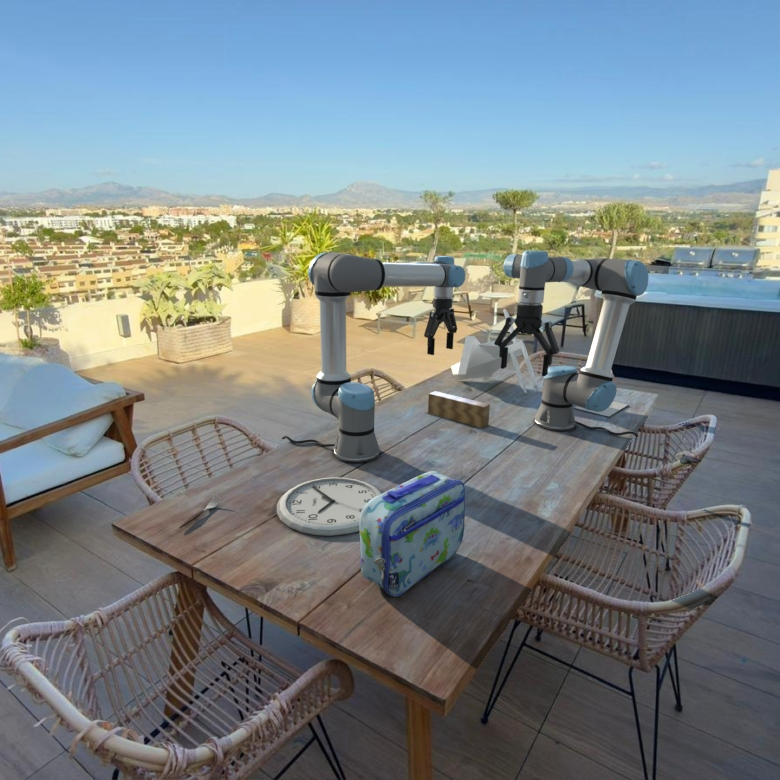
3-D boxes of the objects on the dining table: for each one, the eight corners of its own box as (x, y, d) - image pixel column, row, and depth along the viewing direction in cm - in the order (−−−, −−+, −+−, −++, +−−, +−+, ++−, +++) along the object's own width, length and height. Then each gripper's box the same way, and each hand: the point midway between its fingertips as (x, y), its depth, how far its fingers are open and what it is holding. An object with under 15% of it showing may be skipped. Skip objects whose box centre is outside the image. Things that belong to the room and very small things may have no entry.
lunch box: (388, 609, 104) (390, 516, 98) (353, 583, 111) (352, 496, 105) (468, 555, 122) (474, 474, 115) (433, 536, 129) (437, 458, 123)
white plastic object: (472, 423, 260) (450, 400, 235) (454, 348, 282) (432, 320, 258) (544, 398, 248) (529, 371, 223) (519, 323, 270) (503, 291, 245)
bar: (488, 424, 203) (489, 404, 201) (482, 428, 200) (484, 407, 197) (434, 410, 218) (434, 391, 216) (427, 413, 215) (428, 393, 212)
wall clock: (392, 527, 129) (268, 531, 127) (391, 533, 130) (269, 537, 127) (383, 473, 158) (282, 475, 155) (383, 478, 158) (282, 480, 156)
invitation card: (608, 416, 214) (573, 407, 224) (608, 416, 214) (573, 408, 224) (628, 404, 229) (594, 396, 238) (628, 405, 229) (594, 397, 238)
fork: (174, 529, 130) (174, 521, 130) (216, 499, 144) (215, 492, 144) (183, 531, 129) (182, 524, 129) (223, 501, 144) (223, 494, 143)
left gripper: (451, 293, 212) (449, 345, 218) (415, 299, 193) (414, 355, 200) (467, 295, 208) (464, 347, 214) (432, 301, 189) (430, 358, 195)
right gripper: (487, 300, 162) (482, 367, 168) (567, 309, 148) (558, 381, 154) (497, 298, 168) (492, 362, 174) (575, 306, 153) (567, 375, 160)
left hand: (440, 351), depth 207 cm, fingers open, 13 cm apart
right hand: (523, 371), depth 164 cm, fingers open, 13 cm apart
